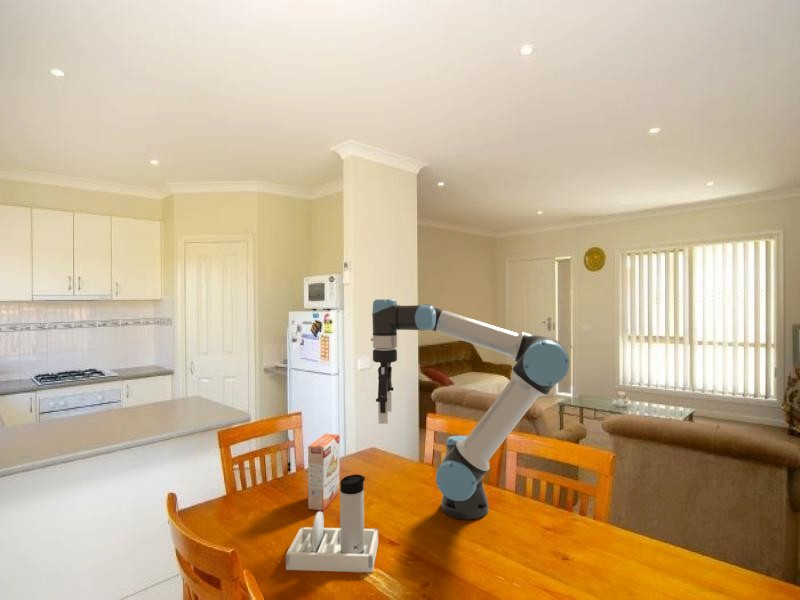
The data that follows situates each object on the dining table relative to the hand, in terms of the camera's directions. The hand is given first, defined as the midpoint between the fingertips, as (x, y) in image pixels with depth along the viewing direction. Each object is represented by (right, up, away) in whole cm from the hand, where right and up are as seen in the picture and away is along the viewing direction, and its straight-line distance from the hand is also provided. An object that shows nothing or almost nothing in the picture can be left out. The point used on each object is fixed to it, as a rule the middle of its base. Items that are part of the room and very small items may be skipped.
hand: (385, 417), depth 135 cm
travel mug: (-8, -31, -20) cm, 37 cm away
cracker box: (-21, -32, +12) cm, 40 cm away
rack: (-13, -32, -19) cm, 39 cm away
